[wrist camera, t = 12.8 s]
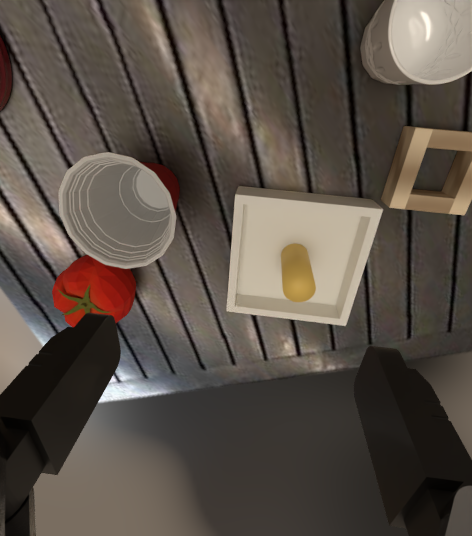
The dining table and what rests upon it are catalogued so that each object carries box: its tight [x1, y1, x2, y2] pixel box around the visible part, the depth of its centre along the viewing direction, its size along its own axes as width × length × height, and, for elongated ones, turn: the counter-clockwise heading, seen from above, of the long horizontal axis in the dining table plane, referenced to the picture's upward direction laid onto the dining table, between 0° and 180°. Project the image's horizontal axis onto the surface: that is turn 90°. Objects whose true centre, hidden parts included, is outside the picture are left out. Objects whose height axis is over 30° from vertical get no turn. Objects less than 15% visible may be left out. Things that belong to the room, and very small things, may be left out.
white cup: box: [360, 0, 472, 85], centre depth 24 cm, size 8×8×10 cm
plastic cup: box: [59, 152, 180, 269], centre depth 32 cm, size 11×11×12 cm
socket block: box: [381, 126, 472, 215], centre depth 32 cm, size 8×8×3 cm
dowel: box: [281, 243, 316, 302], centre depth 36 cm, size 4×4×8 cm
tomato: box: [52, 255, 136, 328], centre depth 41 cm, size 11×11×9 cm
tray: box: [227, 186, 383, 326], centre depth 38 cm, size 16×16×4 cm
